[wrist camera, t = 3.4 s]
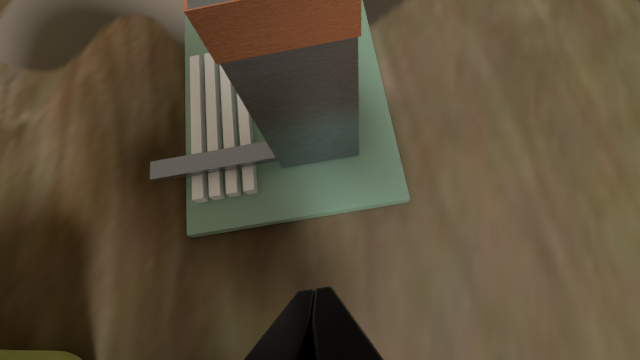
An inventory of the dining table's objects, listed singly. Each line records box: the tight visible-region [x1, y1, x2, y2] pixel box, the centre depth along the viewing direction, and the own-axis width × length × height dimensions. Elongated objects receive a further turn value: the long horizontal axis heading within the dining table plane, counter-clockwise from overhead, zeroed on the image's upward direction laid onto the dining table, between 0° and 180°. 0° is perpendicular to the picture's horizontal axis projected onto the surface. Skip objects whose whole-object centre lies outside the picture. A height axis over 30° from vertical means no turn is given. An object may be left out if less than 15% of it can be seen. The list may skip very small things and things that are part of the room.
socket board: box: [185, 0, 410, 238], centre depth 23 cm, size 18×14×4 cm
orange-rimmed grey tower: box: [150, 0, 361, 183], centre depth 18 cm, size 8×13×13 cm, turn 98°
